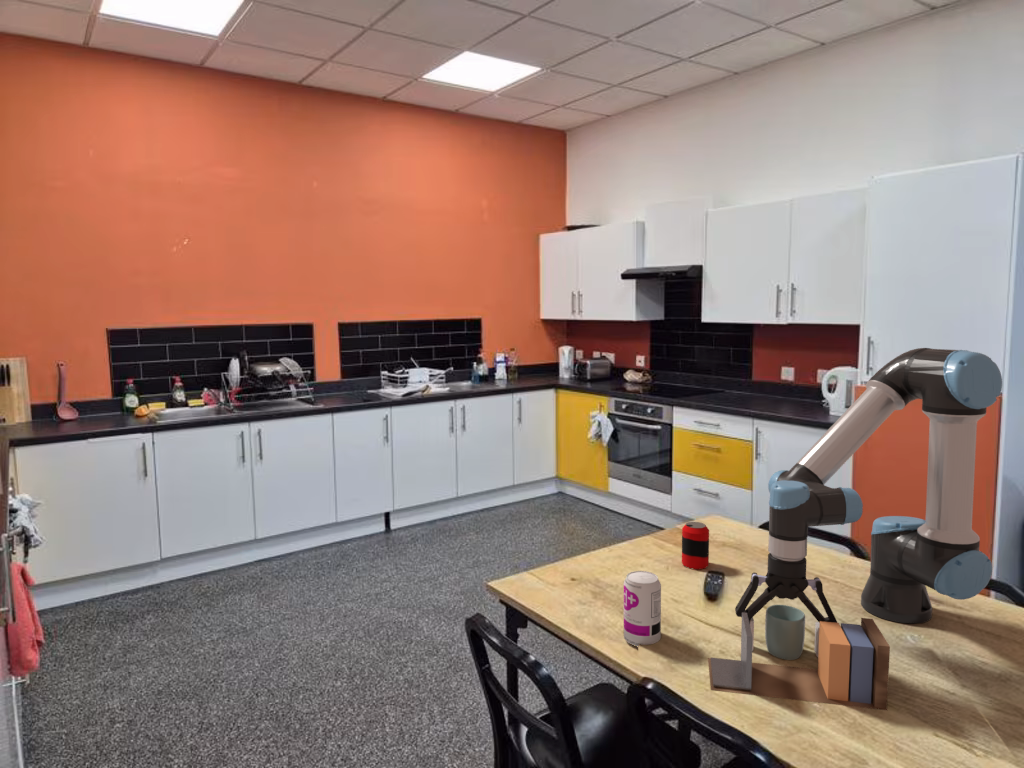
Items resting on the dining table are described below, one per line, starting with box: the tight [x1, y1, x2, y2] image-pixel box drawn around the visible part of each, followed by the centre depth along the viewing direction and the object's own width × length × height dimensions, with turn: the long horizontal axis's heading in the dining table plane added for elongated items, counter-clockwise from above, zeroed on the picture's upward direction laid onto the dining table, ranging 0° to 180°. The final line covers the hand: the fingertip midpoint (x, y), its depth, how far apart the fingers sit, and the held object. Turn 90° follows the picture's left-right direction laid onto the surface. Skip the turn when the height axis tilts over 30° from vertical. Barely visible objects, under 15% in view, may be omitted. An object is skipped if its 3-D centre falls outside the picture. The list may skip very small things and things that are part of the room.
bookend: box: [710, 612, 753, 691], centre depth 132 cm, size 7×10×11 cm
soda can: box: [681, 521, 710, 570], centre depth 192 cm, size 8×8×12 cm
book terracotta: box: [817, 621, 850, 701], centre depth 128 cm, size 4×9×11 cm, turn 166°
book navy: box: [840, 622, 874, 704], centre depth 127 cm, size 4×9×11 cm, turn 166°
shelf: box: [707, 617, 891, 711], centre depth 130 cm, size 31×12×13 cm, turn 76°
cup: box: [764, 604, 806, 661], centre depth 141 cm, size 8×8×10 cm
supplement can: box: [623, 570, 662, 648], centre depth 149 cm, size 8×8×15 cm
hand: (783, 650), depth 142 cm, fingers open, 13 cm apart
